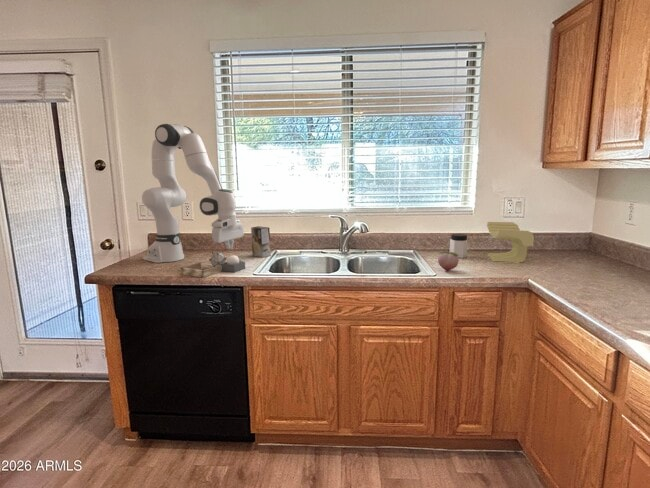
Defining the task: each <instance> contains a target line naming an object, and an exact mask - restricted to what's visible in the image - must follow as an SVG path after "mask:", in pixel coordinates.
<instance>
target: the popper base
mask: <svg viewBox="0 0 650 488" xmlns="http://www.w3.org/2000/svg"><path fill="white" fill-rule="evenodd" d="M245 269H246V261H243V260H239V263H238V264H235V265H232V264H227V261H224V263H221V272H231V273H236V272H240V271H242V270H245Z"/></svg>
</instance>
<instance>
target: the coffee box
mask: <svg viewBox="0 0 650 488" xmlns="http://www.w3.org/2000/svg"><path fill="white" fill-rule="evenodd" d="M250 228H251V229H250V230H251V231H250V234H251V249H252V250H251V253H252V256H255V257H259V258H266V257H270V256H271V255H272V254H271V238H270V237H271V234H270V227H269V226H259V225H258V226H252V227H250Z"/></svg>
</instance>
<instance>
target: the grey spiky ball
mask: <svg viewBox="0 0 650 488" xmlns="http://www.w3.org/2000/svg"><path fill="white" fill-rule="evenodd" d="M227 259H228V257H225V255H224V254H223V250H221V251H218V252H214V251H211V256H210V258H209V259H208V262H210V263H211V265H212V267H215V266H218V265H221V263H224V262H226V261H227Z"/></svg>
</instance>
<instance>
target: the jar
mask: <svg viewBox="0 0 650 488" xmlns="http://www.w3.org/2000/svg"><path fill="white" fill-rule="evenodd" d="M468 241H469V240H468V235H467V234H465V233H452V234H451V237H450V239H449V252H455V253H457V254H458V255H459V256H457V257H458V259H464V258H467V257H468Z"/></svg>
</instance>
